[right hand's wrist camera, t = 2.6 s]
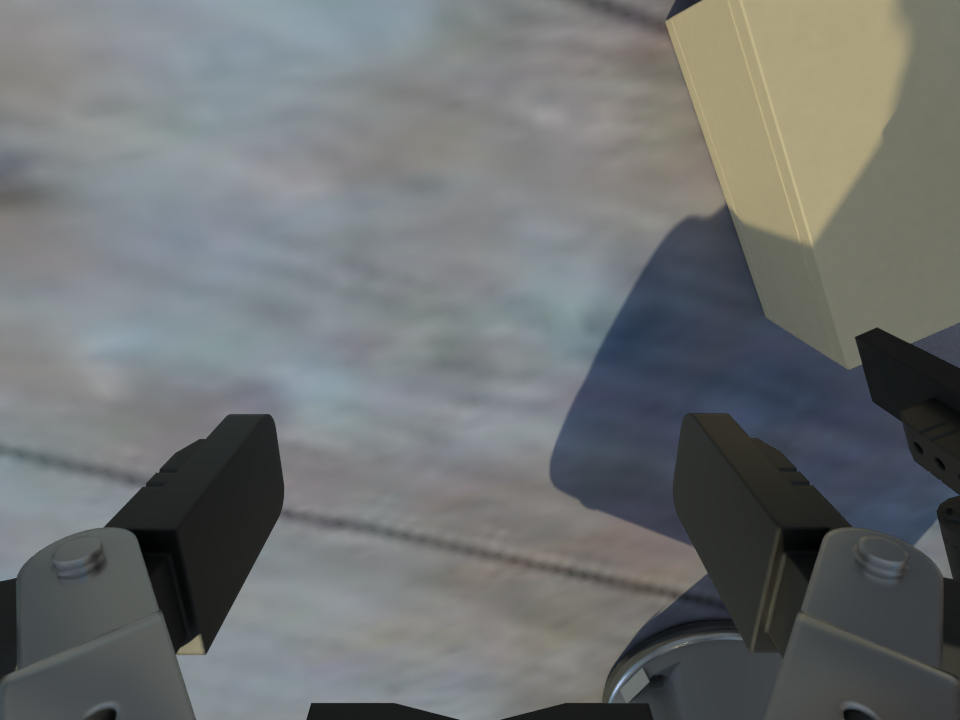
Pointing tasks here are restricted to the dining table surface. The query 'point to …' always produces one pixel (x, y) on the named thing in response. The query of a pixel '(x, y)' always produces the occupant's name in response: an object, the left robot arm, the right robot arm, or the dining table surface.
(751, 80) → the cabinet
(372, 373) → the dining table surface
